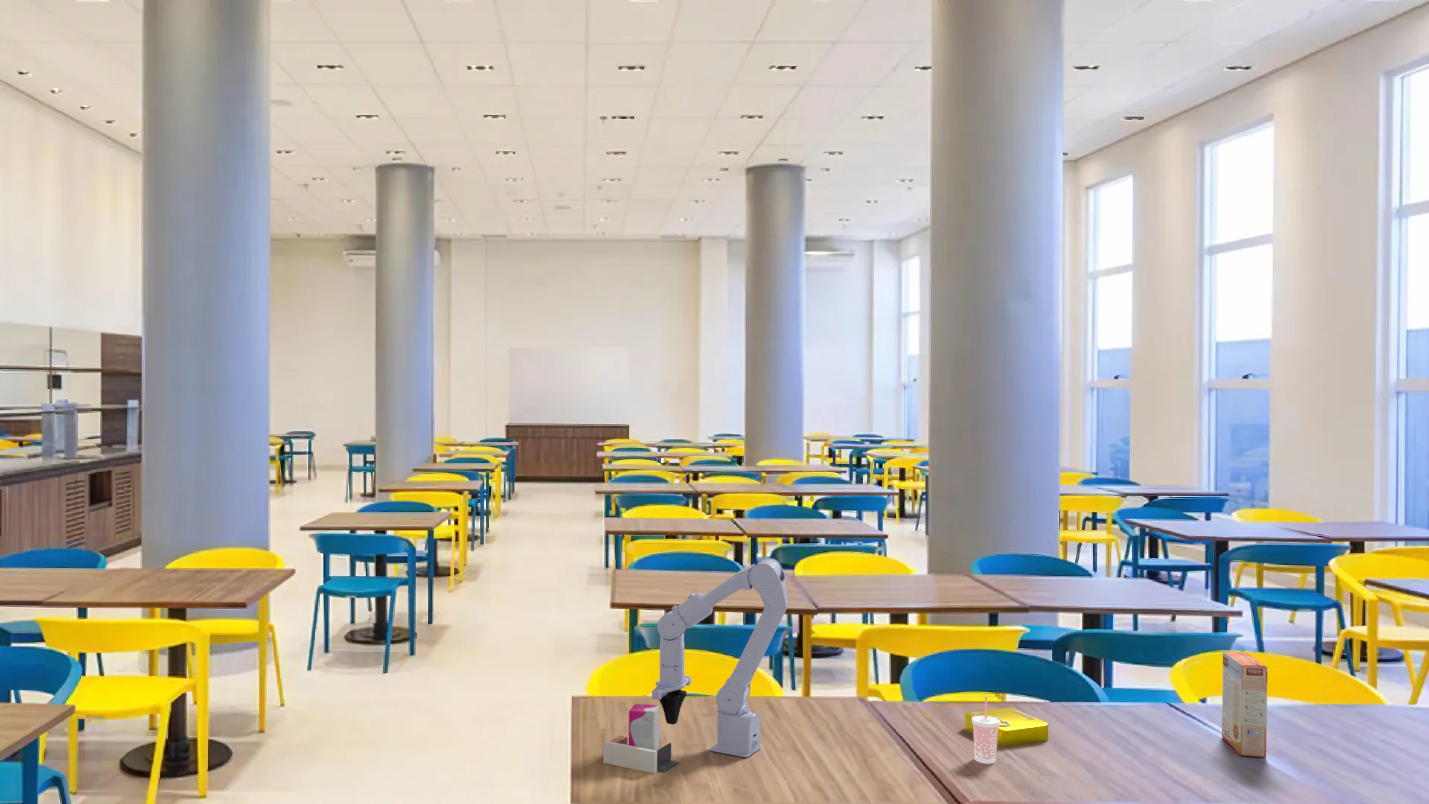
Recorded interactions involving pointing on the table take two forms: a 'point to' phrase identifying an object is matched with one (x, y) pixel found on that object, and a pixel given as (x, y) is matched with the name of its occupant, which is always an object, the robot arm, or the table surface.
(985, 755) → the beverage cup
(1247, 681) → the cracker box
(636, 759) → the shelf wall
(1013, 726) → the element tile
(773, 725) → the table surface
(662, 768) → the bookend
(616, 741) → the pink rectangular block
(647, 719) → the supplement box
